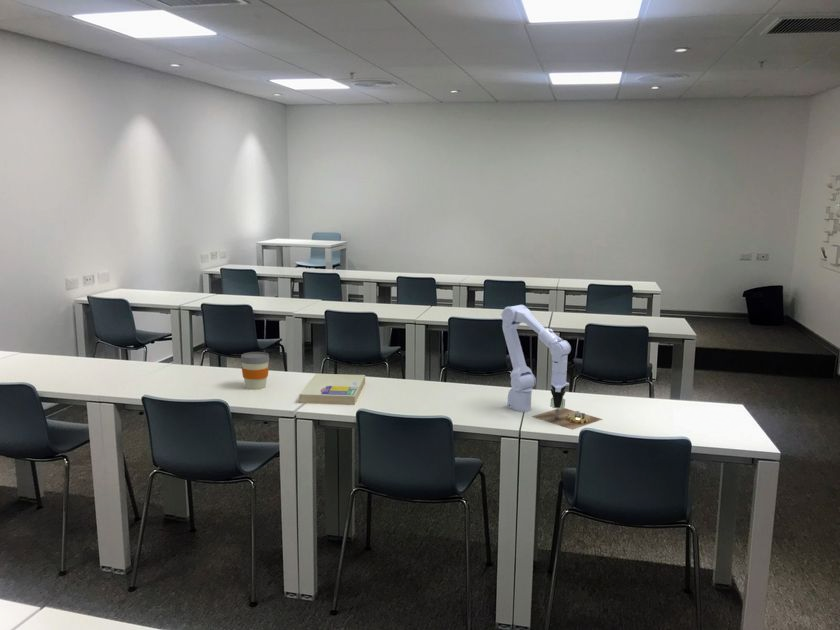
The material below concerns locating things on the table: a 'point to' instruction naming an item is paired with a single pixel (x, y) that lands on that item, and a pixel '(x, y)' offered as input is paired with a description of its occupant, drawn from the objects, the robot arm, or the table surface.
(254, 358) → the reusable coffee cup
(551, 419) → the gear board
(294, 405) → the table surface
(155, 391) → the table surface
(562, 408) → the pale green gear
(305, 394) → the puzzle box
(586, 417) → the brass gear
